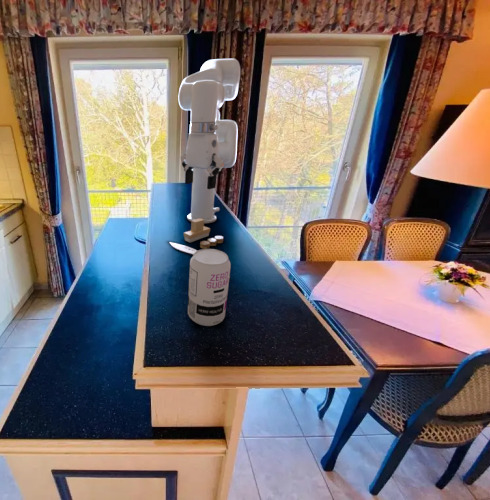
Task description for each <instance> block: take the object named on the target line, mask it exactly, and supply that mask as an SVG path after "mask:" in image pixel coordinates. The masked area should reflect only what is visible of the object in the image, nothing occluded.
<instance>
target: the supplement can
mask: <svg viewBox="0 0 490 500" xmlns="http://www.w3.org/2000/svg"><path fill="white" fill-rule="evenodd" d="M231 265H232V264H231V261H230V259H229V256H228V254H227V253H226V252H225V251H222V250H220V249H215V248H208V249H203V248H201V249H199V250H198V251H196V252H195V253H194V255H193V254H192V257H191V258H190V260H189V277H188V294H187V295H188V297H187V298H188V299H187V302H188V303H187V315H188V317H189V318H190V319H191V321H193V322H194V323H196V324H198V325H200V326H205V327H212V326H217V325H218V324H220V323H222V322H223V321H224V319H225V318H226V311H227V310H226V309H227V301H228V292H229V283H230V278H229V276H230V277H231Z"/></svg>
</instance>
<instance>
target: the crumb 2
mask: <svg viewBox="0 0 490 500" xmlns="http://www.w3.org/2000/svg"><path fill="white" fill-rule="evenodd" d="M213 238H214V239H216V240H217V243H216V244H223V242H224V236H222V235H215V236H214V237H213Z"/></svg>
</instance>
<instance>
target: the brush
mask: <svg viewBox="0 0 490 500" xmlns="http://www.w3.org/2000/svg"><path fill="white" fill-rule="evenodd" d="M210 233H211V228H210V227H208V226H205V223H204V219H201V218H199V219H195V220H192V221H190V230H187V231H185V232H183V237H184V241H185V242H188V243H193V242H196V241H199V240H201V239H203V238H206V237H209V236H210Z"/></svg>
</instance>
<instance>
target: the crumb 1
mask: <svg viewBox="0 0 490 500" xmlns="http://www.w3.org/2000/svg"><path fill="white" fill-rule="evenodd" d="M199 247H200V248H201V249H210V247H211V246H210V242H208V241H207V240H202V241H200V243H199Z"/></svg>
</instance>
